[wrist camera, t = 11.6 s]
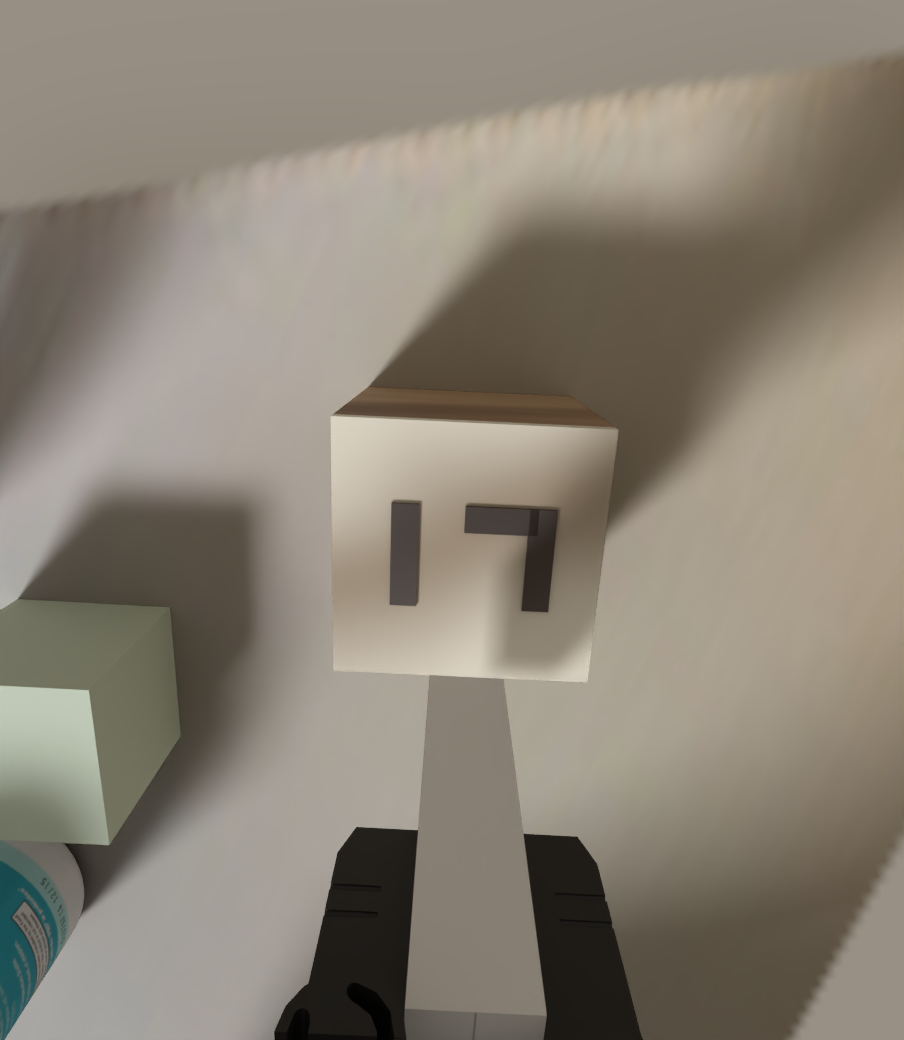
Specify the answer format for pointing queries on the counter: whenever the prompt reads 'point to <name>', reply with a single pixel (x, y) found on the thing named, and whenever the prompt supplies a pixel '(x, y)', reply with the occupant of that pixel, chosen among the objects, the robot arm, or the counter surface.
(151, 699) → the sage block
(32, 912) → the pill bottle
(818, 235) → the counter surface
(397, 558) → the walnut block
